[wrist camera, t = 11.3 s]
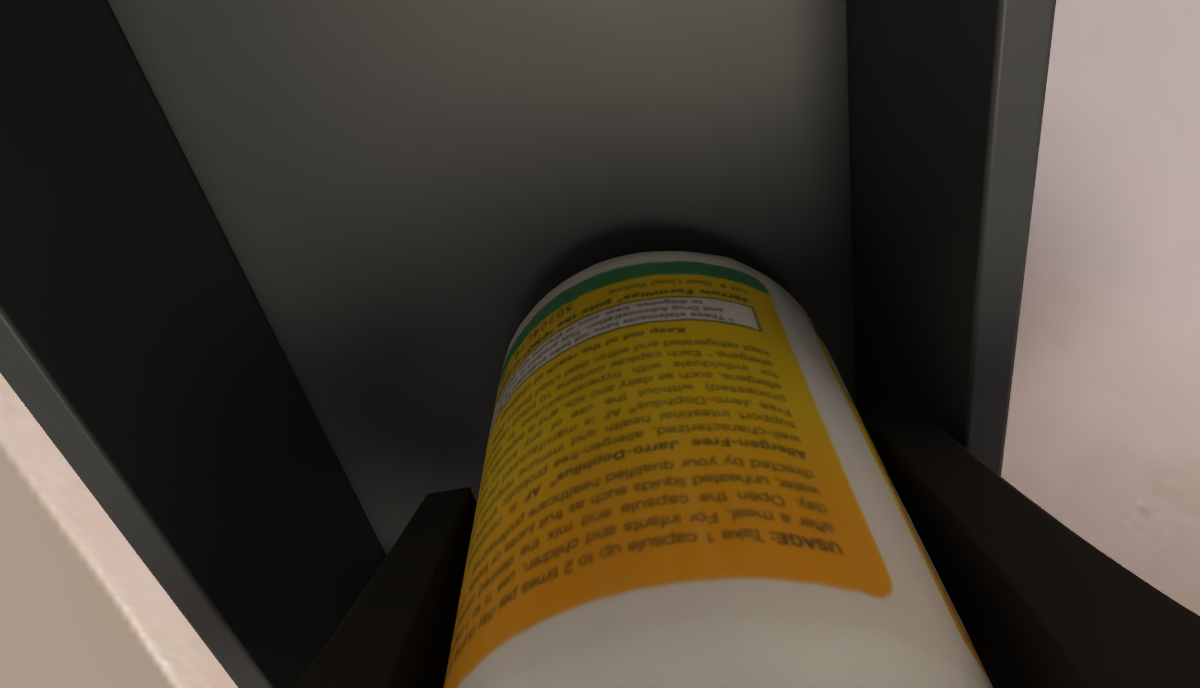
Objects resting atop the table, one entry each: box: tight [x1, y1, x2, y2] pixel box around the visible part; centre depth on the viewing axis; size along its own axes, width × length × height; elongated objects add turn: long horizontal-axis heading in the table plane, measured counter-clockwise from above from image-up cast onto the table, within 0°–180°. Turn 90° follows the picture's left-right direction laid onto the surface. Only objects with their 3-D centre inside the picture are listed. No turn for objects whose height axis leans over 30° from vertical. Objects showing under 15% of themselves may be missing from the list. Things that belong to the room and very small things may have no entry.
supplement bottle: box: [443, 251, 993, 688], centre depth 9 cm, size 5×5×10 cm
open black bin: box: [0, 0, 1056, 688], centre depth 11 cm, size 13×11×5 cm
